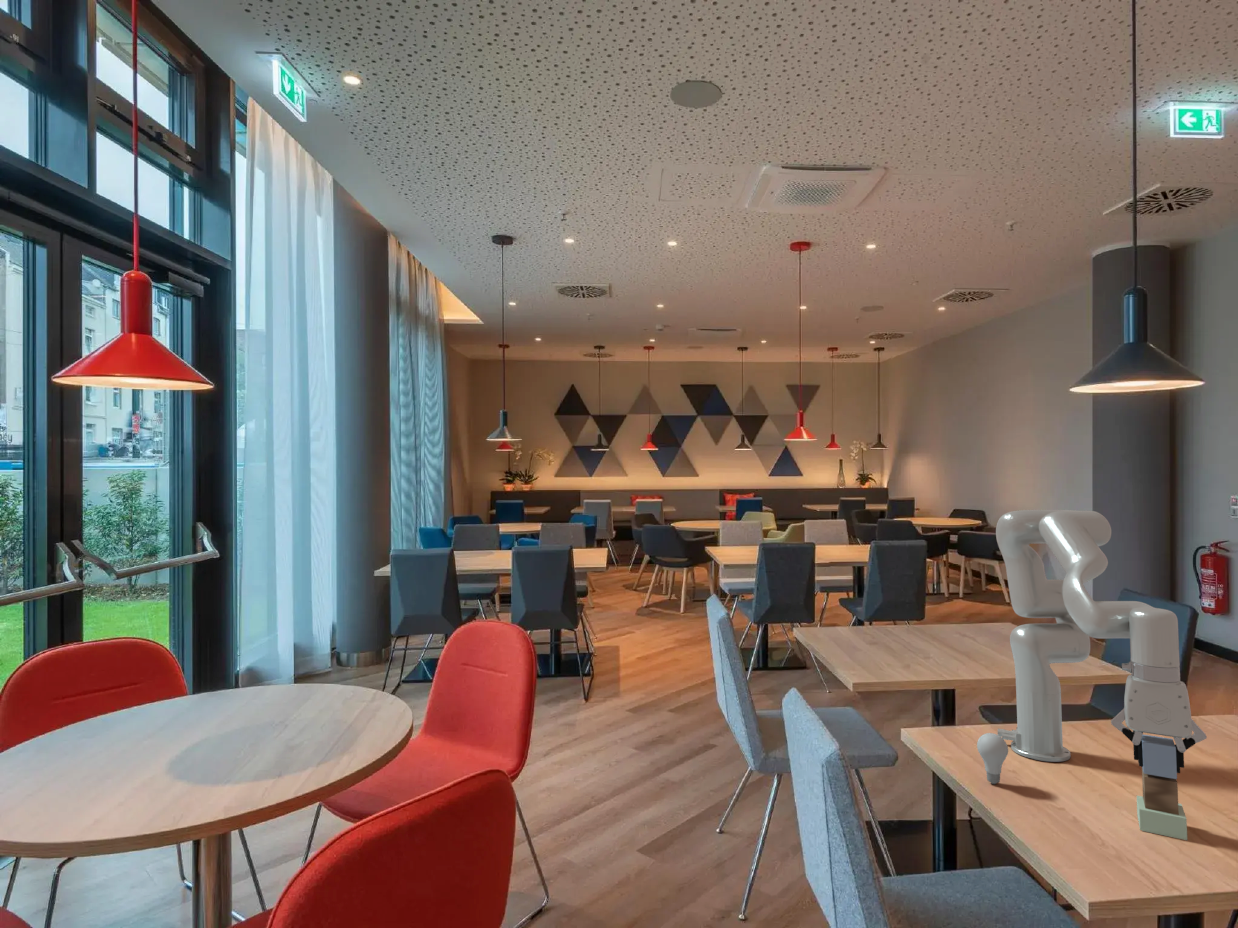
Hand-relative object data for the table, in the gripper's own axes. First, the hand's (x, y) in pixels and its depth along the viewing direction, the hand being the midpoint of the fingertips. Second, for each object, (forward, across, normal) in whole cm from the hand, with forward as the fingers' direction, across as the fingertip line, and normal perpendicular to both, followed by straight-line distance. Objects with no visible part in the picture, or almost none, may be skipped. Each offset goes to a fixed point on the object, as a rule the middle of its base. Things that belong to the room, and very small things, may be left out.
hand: (1158, 766), depth 133 cm
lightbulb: (+12, -29, +5) cm, 32 cm away
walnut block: (+8, 0, 0) cm, 8 cm away
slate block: (+1, 0, 0) cm, 1 cm away
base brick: (+12, 0, 0) cm, 12 cm away
